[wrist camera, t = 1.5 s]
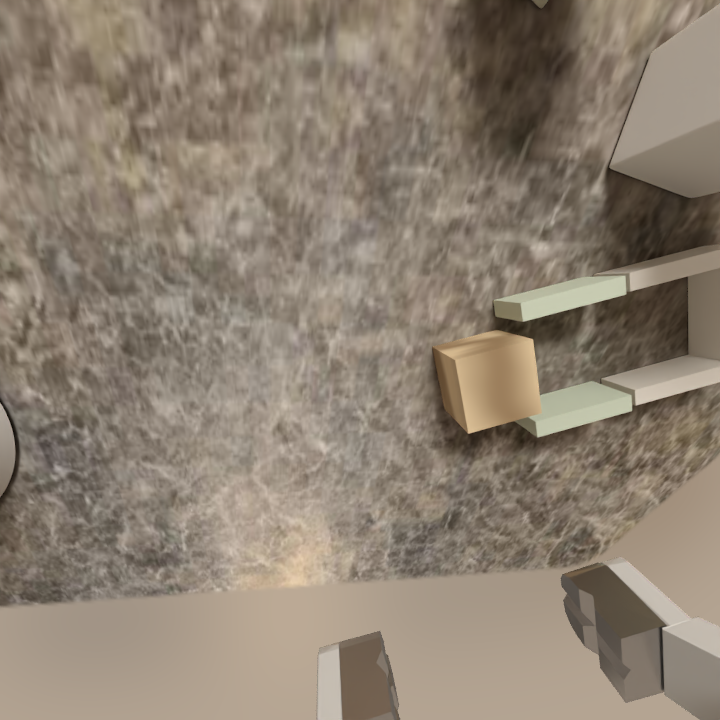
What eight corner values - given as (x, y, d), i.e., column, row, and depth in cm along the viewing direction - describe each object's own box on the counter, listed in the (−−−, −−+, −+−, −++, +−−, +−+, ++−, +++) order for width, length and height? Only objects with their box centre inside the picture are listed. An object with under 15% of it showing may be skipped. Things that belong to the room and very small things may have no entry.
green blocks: (510, 417, 27) (537, 437, 23) (493, 300, 24) (520, 303, 21) (593, 395, 27) (632, 410, 23) (583, 276, 25) (625, 275, 21)
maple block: (443, 408, 26) (468, 433, 22) (431, 346, 25) (455, 360, 20) (505, 391, 26) (541, 413, 22) (496, 329, 25) (532, 339, 21)
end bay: (601, 392, 27) (635, 405, 24) (593, 274, 25) (629, 273, 22) (702, 364, 27) (747, 374, 24) (702, 246, 25) (752, 241, 22)
